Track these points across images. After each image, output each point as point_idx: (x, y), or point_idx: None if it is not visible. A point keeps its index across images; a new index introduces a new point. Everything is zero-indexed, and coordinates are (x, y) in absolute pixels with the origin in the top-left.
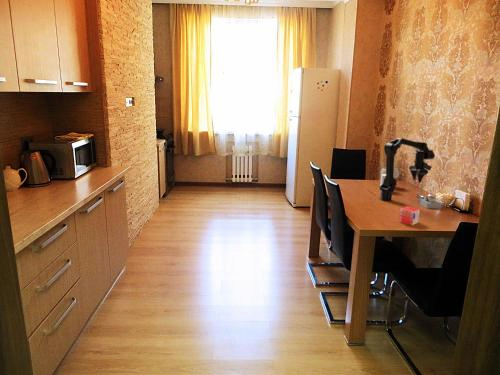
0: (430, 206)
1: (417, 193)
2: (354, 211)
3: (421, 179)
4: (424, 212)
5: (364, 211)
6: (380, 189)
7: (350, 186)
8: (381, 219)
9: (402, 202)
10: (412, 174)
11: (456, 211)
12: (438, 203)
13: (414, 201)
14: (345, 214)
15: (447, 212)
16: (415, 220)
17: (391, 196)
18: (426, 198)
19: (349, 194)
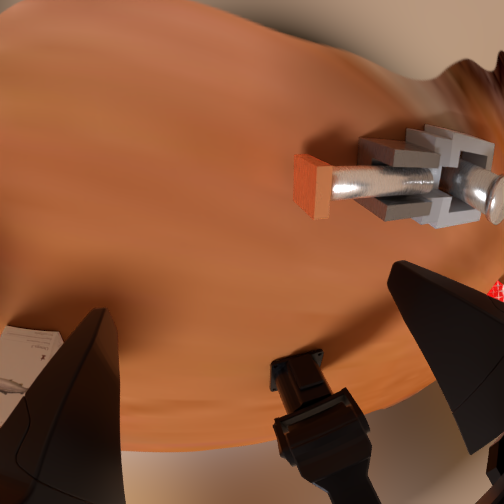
0: None
1: (328, 213)
2: (397, 396)
3: (463, 294)
4: (478, 240)
5: (405, 384)
6: (288, 430)
7: None
8: None
9: (358, 302)
10: (121, 478)
11: (495, 91)
12: (491, 158)
13: (347, 226)
14: (405, 399)
15: (498, 145)
16: (498, 289)
17: (317, 367)
18: (429, 177)
19: (210, 445)
